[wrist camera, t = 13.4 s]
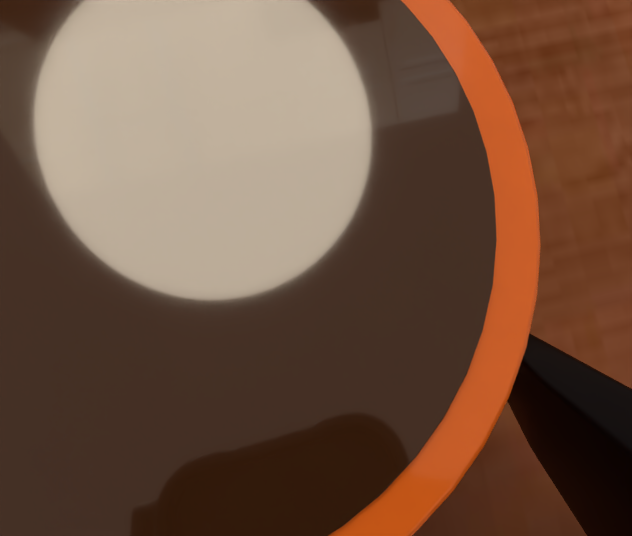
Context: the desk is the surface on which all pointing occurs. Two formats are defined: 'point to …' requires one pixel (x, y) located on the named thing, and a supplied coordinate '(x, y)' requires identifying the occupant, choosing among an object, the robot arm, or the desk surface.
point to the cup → (253, 264)
